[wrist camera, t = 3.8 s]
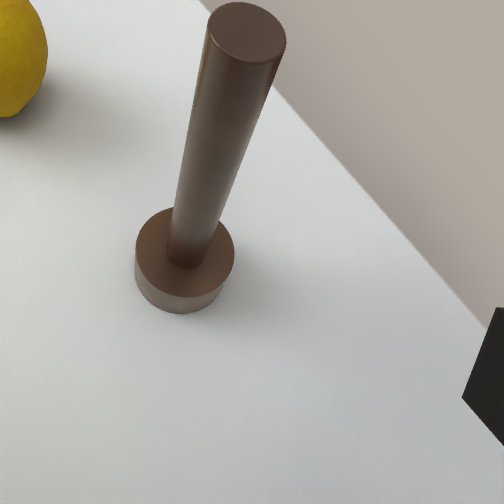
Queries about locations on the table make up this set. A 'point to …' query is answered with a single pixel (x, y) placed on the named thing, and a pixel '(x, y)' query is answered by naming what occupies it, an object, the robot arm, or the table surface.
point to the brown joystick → (210, 161)
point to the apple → (20, 55)
